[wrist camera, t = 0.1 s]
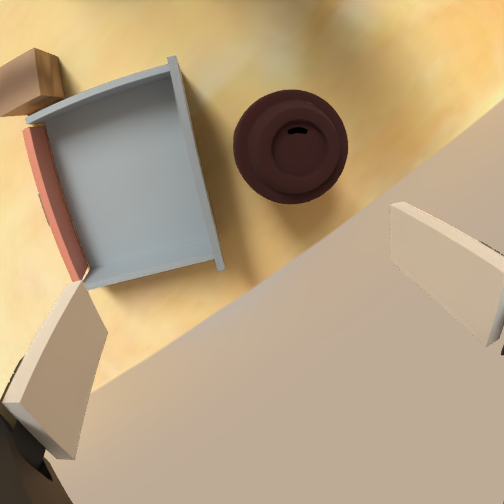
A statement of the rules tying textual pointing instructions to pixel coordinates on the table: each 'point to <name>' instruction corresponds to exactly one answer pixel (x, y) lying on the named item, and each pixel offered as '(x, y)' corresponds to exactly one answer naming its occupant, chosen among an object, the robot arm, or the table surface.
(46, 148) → the panel
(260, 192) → the coffee cup
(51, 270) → the table surface
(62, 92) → the walnut block
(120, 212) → the truck bed
